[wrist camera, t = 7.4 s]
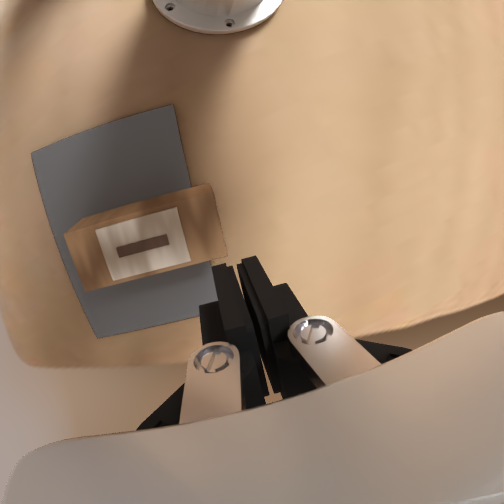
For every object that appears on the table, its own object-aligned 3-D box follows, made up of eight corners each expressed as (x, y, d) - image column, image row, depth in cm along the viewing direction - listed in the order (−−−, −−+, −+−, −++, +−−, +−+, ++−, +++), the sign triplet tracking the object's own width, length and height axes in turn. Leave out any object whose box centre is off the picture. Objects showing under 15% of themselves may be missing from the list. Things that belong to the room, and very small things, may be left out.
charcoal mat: (32, 153, 22) (31, 153, 22) (173, 104, 24) (173, 104, 24) (98, 336, 30) (97, 338, 29) (222, 307, 32) (222, 309, 31)
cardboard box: (208, 183, 27) (82, 218, 25) (213, 192, 22) (61, 235, 20) (220, 236, 29) (99, 268, 27) (228, 257, 24) (84, 293, 22)
